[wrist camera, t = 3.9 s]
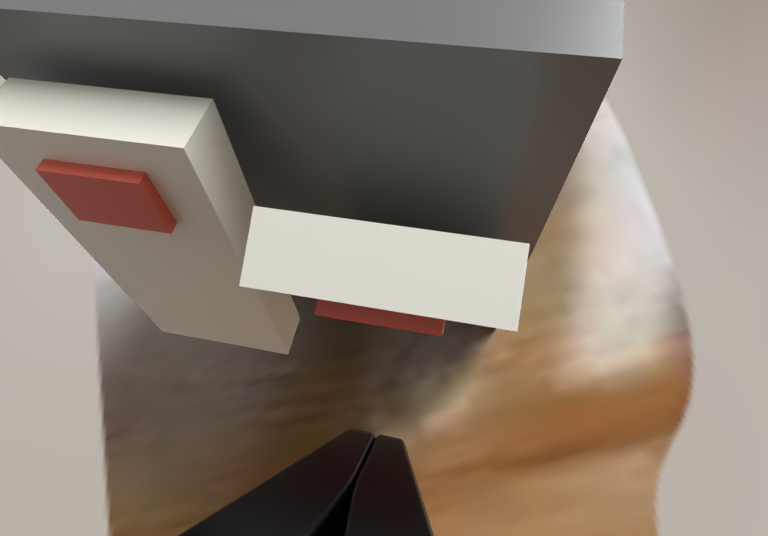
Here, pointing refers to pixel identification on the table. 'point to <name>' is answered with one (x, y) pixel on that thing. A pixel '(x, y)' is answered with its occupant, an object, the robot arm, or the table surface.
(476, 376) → the table surface
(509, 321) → the block
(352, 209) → the switch box
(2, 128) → the block
